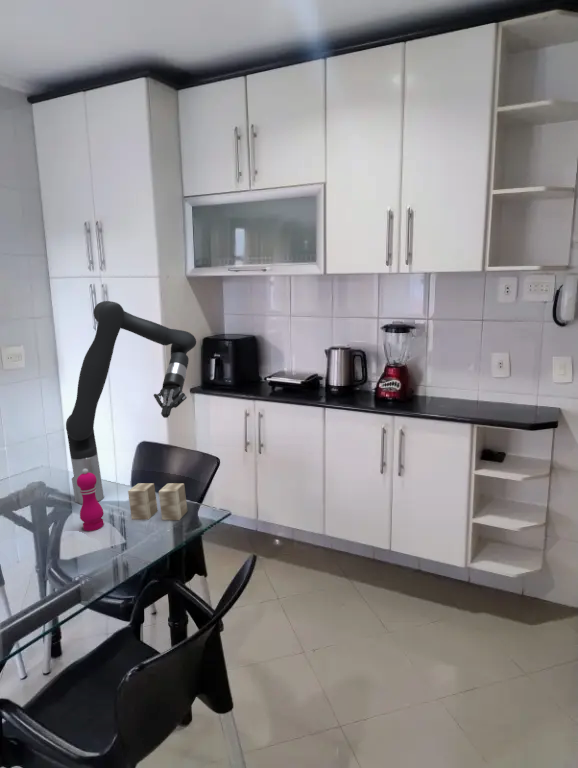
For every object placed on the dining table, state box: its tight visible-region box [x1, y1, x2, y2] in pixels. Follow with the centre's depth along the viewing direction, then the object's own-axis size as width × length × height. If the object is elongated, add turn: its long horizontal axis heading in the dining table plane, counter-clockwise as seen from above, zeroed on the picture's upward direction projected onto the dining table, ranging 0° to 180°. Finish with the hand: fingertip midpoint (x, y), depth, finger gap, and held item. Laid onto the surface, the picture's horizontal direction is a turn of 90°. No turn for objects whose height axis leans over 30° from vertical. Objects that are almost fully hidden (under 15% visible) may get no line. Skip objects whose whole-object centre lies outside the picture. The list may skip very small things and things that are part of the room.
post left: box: [127, 482, 159, 521], centre depth 178 cm, size 6×7×10 cm
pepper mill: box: [77, 469, 105, 532], centre depth 171 cm, size 7×7×20 cm
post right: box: [158, 482, 188, 521], centre depth 175 cm, size 6×7×10 cm
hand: (164, 416), depth 191 cm, fingers closed
